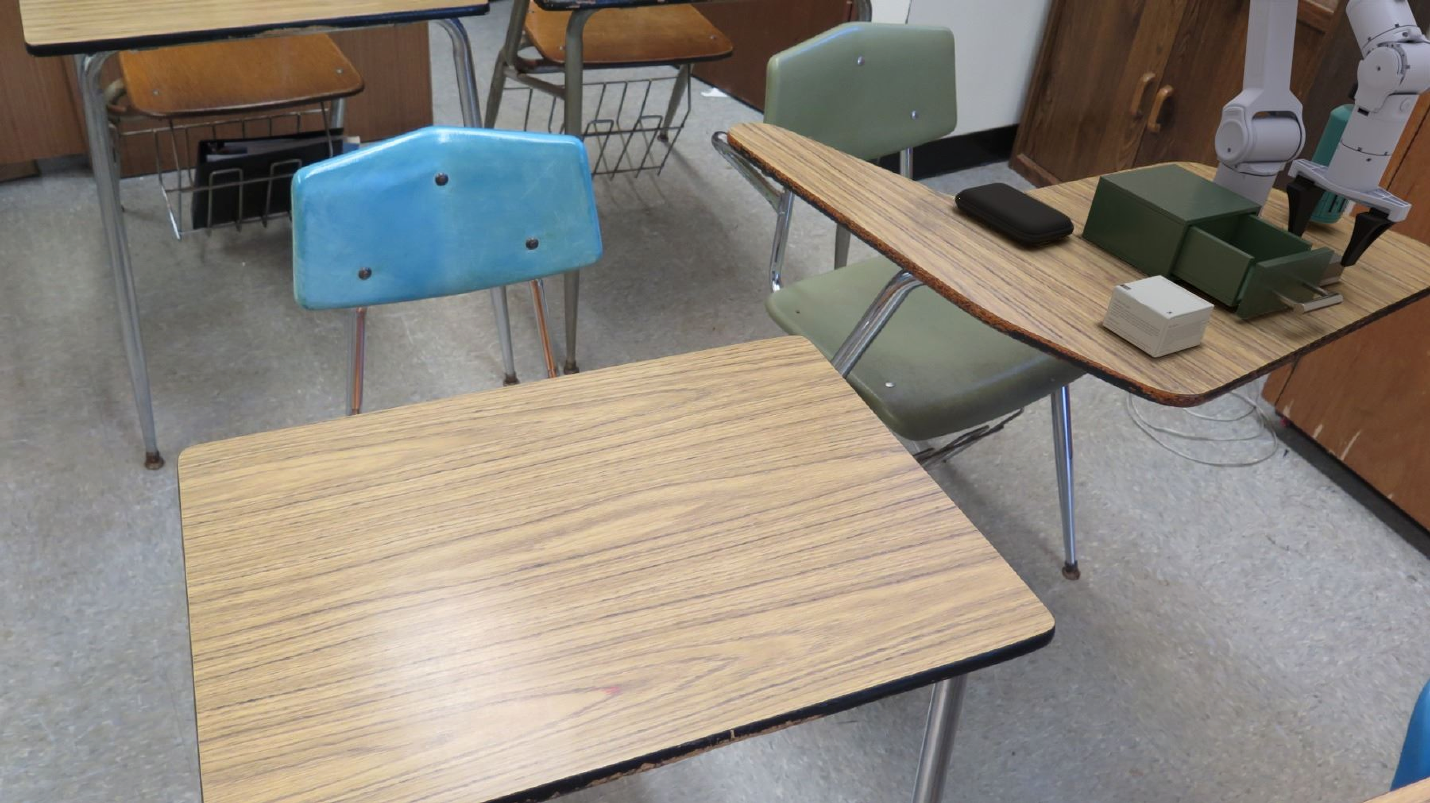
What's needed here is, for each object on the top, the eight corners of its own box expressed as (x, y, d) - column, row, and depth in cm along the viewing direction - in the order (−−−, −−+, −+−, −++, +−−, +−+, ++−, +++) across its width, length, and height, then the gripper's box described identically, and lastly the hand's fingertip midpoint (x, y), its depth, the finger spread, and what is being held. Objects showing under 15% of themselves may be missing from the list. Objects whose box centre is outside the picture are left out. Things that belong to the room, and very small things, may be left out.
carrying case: (1083, 239, 141) (1001, 195, 150) (1089, 217, 139) (1006, 175, 149) (1026, 254, 135) (945, 207, 145) (1032, 231, 134) (950, 186, 143)
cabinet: (1238, 266, 138) (1262, 205, 133) (1163, 283, 132) (1186, 220, 127) (1154, 221, 148) (1174, 163, 143) (1081, 236, 141) (1099, 175, 137)
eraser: (1313, 269, 139) (1323, 247, 137) (1338, 281, 137) (1348, 259, 135) (1273, 279, 136) (1283, 256, 134) (1298, 292, 133) (1308, 269, 131)
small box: (1201, 345, 119) (1217, 305, 117) (1153, 359, 116) (1168, 318, 113) (1146, 312, 125) (1161, 273, 122) (1099, 325, 121) (1112, 285, 118)
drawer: (1347, 319, 126) (1372, 268, 122) (1278, 339, 120) (1301, 286, 117) (1224, 254, 138) (1243, 206, 135) (1156, 269, 133) (1174, 220, 129)
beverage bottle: (1318, 237, 148) (1382, 94, 137) (1276, 218, 152) (1334, 77, 141) (1345, 229, 151) (1409, 89, 140) (1303, 211, 156) (1361, 73, 144)
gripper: (1445, 165, 123) (1392, 272, 130) (1332, 122, 133) (1290, 223, 141) (1408, 172, 120) (1357, 281, 127) (1296, 127, 130) (1255, 230, 137)
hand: (1319, 251), depth 134 cm, fingers open, 7 cm apart
